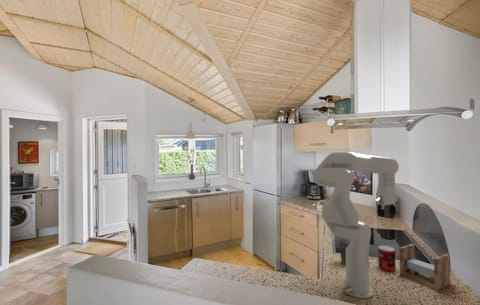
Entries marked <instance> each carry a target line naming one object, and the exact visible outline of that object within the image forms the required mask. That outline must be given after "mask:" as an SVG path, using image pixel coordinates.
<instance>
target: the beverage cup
mask: <svg viewBox="0 0 480 305" xmlns="http://www.w3.org/2000/svg"><path fill="white" fill-rule="evenodd" d="M338 243H339V250H340V261H341V263H342V264H343V265H345V266H346V248H347V246H348V245H349V244H350V243H351V241H349V240H346V239H343V238H340V237H339V241H338Z"/></svg>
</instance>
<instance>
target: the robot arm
mask: <svg viewBox="0 0 480 305" xmlns="http://www.w3.org/2000/svg"><path fill="white" fill-rule="evenodd" d="M399 167H400V166H399V163H398V161H397V160H396V159H394V158H391V157H386V156H384V157H383V156H377V155H370V154H362V153H356V152H352V151H351V152H350V151H341V152H340V151H337V152H335V151H334V152H331V153H329V154H328V155H327V156H325V158H324V159H323V160H322V161H321V162H320V163H319V165H318V166H317V167H316V168H315V169H314V172H313V175H312V178H313V179H312V180H313V181H314V183H315V184H316V185H318V186H321V187H326V188H327V187H328V188H333V191H332V193H331V194H330V196H329V200H328V201H327V202H325V203H324V204H323V206H322V208H321V216H322V219H323V221H324V223H325V225H326V226H327V227H328V229H329V230H330V232H331V233H332V234H333V236H335V237H337V238H339V239H340V238H343V239H346V240H349V241H351V243H350V244H349V245H348V246H347V248H346V265H345V280H344V282H343V283H342V285H340V286H339V287H338V289H339V290H340V291H342V292H345V293H346V294H348V295H349V296H350V297H354V298H357V299H370V298H372V297H373V296H374V290H373V289H372V288H371V287H370V257H369V256H370V252H369V251H370V250H369V249H370V241H371V238H372V237H371V236H372V230H371V227H370V226H369V224H367V223H365V222H363V221H360V217H359V214H358V211H357V209H356V207H355V205H354V204H353V202H352V200H351V197H350V195H351V190H352V186H353V180H354V178H353V174H352V172H353V173H354V172H356V173H365V174H377V184H378V185H377V188H376V196H375V197H376V200H375V201H374V202H375V206H376V208H377V217H381V218H385V215H386V213H385V206H388V214H389V215H392V216H393V215H394V216H395V215H397V211H396V210H397V204H398V197H396V196H397V193H396V187H395V186H396V177H395V176H396V173H397V172H398V170H399Z"/></svg>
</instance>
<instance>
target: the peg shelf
mask: <svg viewBox="0 0 480 305" xmlns="http://www.w3.org/2000/svg"><path fill="white" fill-rule="evenodd" d="M398 249H399V252H398V253H399V254H398V255H399V276H400V277H404V278H406V279H408V280H411V281H413V282H415V283H418V284H420V285H423V286H424V287H428V288H431V289H433V290H434V291H437V292H438V291H440V290H441V289H443V288H446V287H447V286H449V285H451V259H450V258H451V257H450V255H451V254H449V253H444V254H443V255H440V256H437V257H435V258H433V265H434V278H433V277H431V276H428V275H425V274H422V273H420V272H417V271H414V270H412V269H409V268H407V261H408V260H410V259H416V253H415V252H416V248H415V244H414V243H410V244H407V245H404V246H401V247H399V248H398Z"/></svg>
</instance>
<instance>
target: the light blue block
mask: <svg viewBox="0 0 480 305" xmlns="http://www.w3.org/2000/svg"><path fill="white" fill-rule="evenodd" d="M407 268H409V269H412V270H414V271H417V272H420V273H422V274H425V275H428V276H431V277H433V278H434V264H431V263H427V262H424V261H422V260H418V259H416V258H415V259H410V260H408V261H407Z"/></svg>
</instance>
